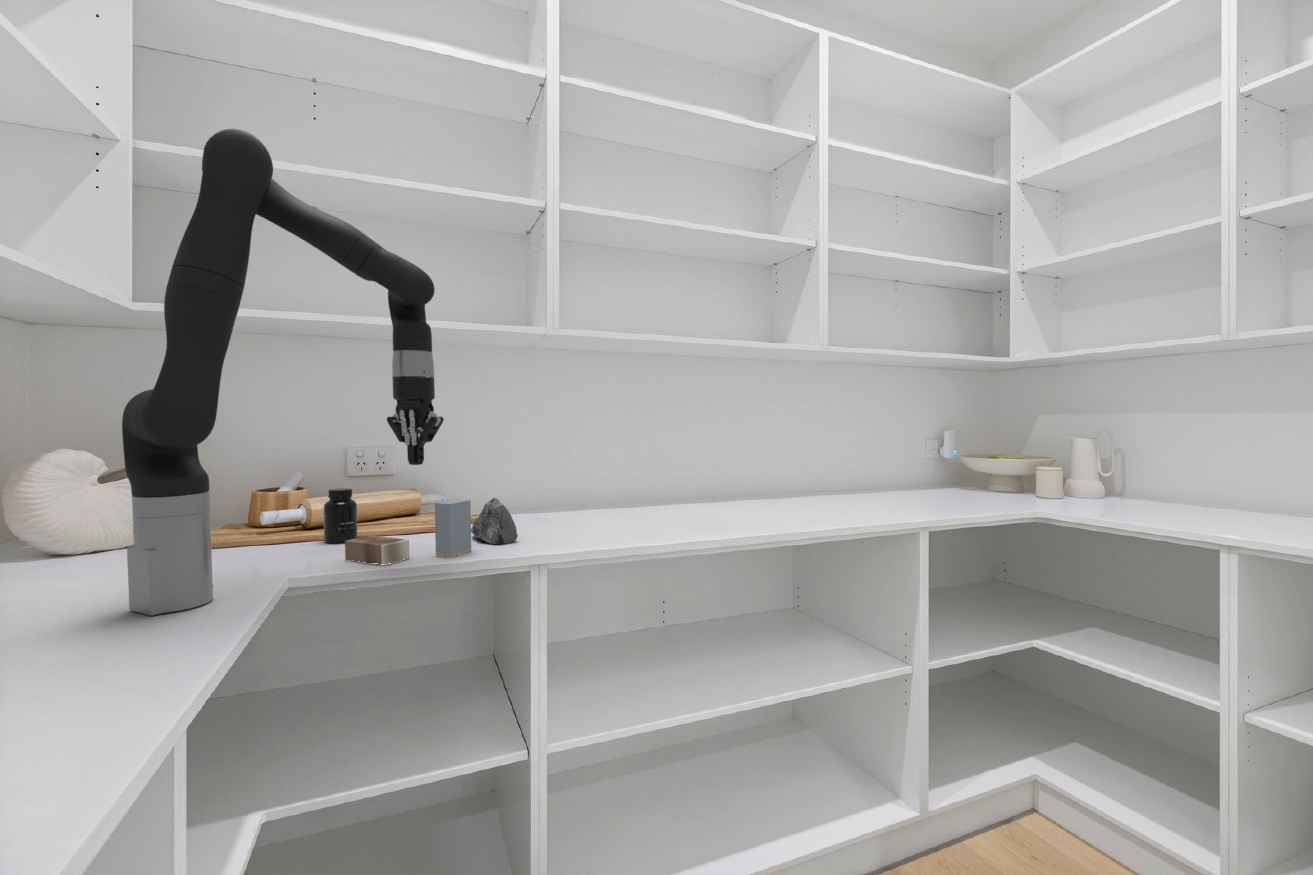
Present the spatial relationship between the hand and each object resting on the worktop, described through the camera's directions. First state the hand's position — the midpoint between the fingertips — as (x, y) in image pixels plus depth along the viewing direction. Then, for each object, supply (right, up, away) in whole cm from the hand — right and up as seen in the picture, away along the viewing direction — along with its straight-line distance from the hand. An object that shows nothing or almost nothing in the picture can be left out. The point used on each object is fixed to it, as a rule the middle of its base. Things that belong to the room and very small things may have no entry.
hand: (416, 464), depth 116 cm
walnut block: (-4, -18, +1) cm, 18 cm away
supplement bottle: (-26, -19, +21) cm, 38 cm away
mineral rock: (+9, -19, +22) cm, 30 cm away
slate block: (+5, -19, +8) cm, 21 cm away
